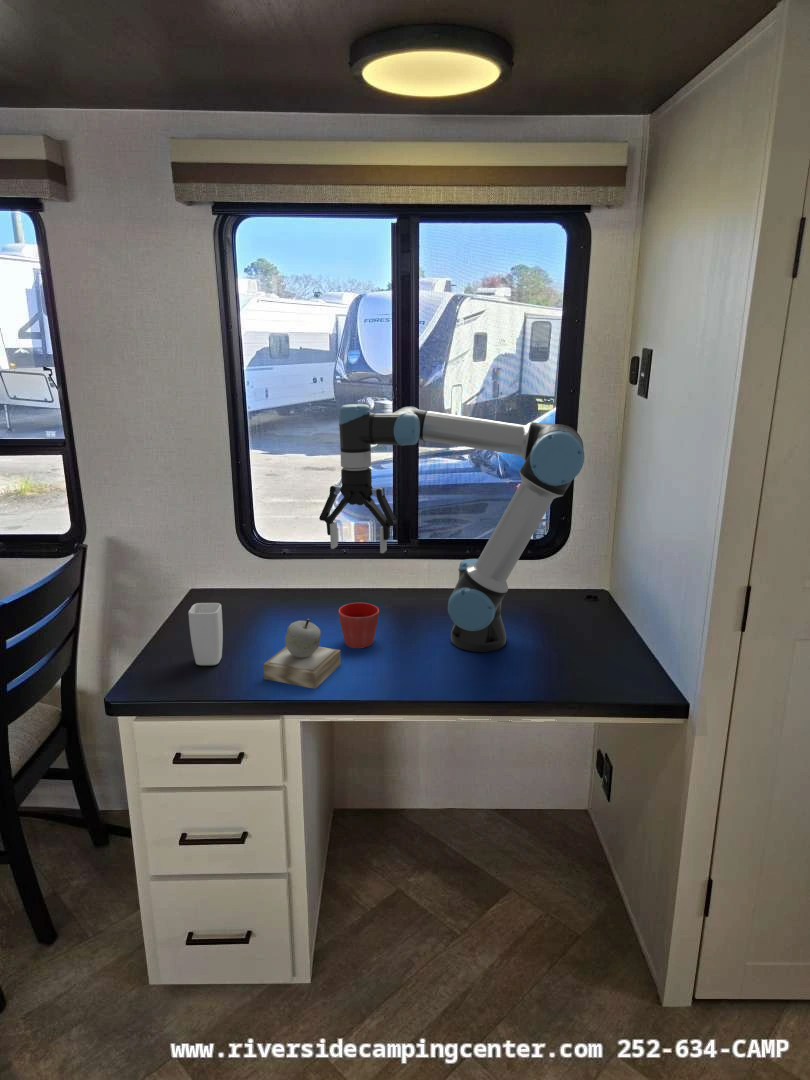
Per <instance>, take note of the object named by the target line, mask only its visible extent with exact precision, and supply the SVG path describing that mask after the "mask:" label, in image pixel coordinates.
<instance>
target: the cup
mask: <svg viewBox="0 0 810 1080" xmlns="http://www.w3.org/2000/svg"><path fill="white" fill-rule="evenodd" d="M187 614H188V625H189V633H190V641H191V646H192V647H191V648H192V653H193V657H194V661H195V664H196V665H197V666H200V667H210V666H211V667H214V666H216V665H218V664H219V663H220V661H221V659H222V657H223V642H224V640H223V639H224V638H223V637H224V636H223V635H224V634H223V633H224V631H223V628H224V627H223V611H222V604H221V603H219V602H196V603H194V604H193V605H191V607H190V609H189V610H188V613H187Z"/></svg>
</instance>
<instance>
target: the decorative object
mask: <svg viewBox="0 0 810 1080" xmlns="http://www.w3.org/2000/svg"><path fill="white" fill-rule="evenodd" d="M321 634H322V631H321V629H320V628H319V627H318V626H317V625H316V624H315V623H313V622H311V621H310V619H309V618H307V619H306V620H297V621H296V620H295V621H294V622H291V623H290V624H289V626H287V630H286V634H285V638H284V643H285V647H286V646H287V649H288V651H289V652H290V653H291V654H292V655H294V656H296V657H300V658H304V657H308V656H310V655H312V654H313V653H314V652H315V651H316V650H317V648H318V646H319V645H320V641H321Z"/></svg>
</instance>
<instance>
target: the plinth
mask: <svg viewBox="0 0 810 1080" xmlns="http://www.w3.org/2000/svg"><path fill="white" fill-rule="evenodd" d="M341 661H342V660H341V649H336V648H330V647H323V646H319V645H318V648H317V650H316V651H315V652H314V653H313V654H312V655H310V656H308V657H304V658H300V657H296V656H294V655H292V654H291V653H290V652H289V651H288V649H287V646H286V645H285V646H284V647H283V648H282V649H281V650H280V651H278V652H277V653H275V654H274V655H273V656H272V657H270V658H269V659H268V660H267V661H265V662H264V663H263V678H264V679H263V680H268V681H272V682H279V683H284V684H288V685H294V686H299V687H304V688H309V689H314V690H315V689H317V688H318V687H319V686H320V685H321V684H322V683H323V682H324V681H325V680H326V679H327V678H329V677H330V675H332V674H333V672H334V671H335V670H337V669H338V668H339V667H340V666H341V665H342V663H341Z"/></svg>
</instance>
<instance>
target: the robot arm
mask: <svg viewBox="0 0 810 1080" xmlns="http://www.w3.org/2000/svg"><path fill="white" fill-rule="evenodd" d="M338 426H339V442H340V444H339V445H340V450H339V451H340V467H341V470H340V472H341V473H340V475H341V476H340V478H341V480H340V481H341V486H339V485H338V484H337V483H335V484H333V485H331V486H330V487H329V495H328V496H327V500H326V501H325V503H324V506H323V509H322V510H321V512H320V516H319V521H321V522H325V523H326V533H327V536H330V549H332V550H334V549H336V548H337V547H339V543H338V521H335V520H336V518H337V517H338V515H340V514H341V512H342V511H343V510H344V509H345V507H346V506H347V505H348V504H349V505H350V506H351V505H352V506H353V505H356V506H357V505H358V506H363V505H364V506H365V508H367V509H368V510H369V511H370V512H371V514H372V515H373V516H374V518H375V519H376V521H378V523H379V524H380V525H381V527H379V548H380V549H379V553H380V554H385V552H387V549H388V548H387V546H388V545H387V542H388V540H390V537H391V527H394V526H395V525H396V524H397V522H398V520H397V518H396V516H395V514H394V512H393V510H392V507H391V505H390V503H389V502H388V499H387V497H386V495H385V494H386V493H385V489H384V487H383V486H381V487H377V488H373V486H372V481H373V480H372V478H373V477H372V469H371V466H372V453H371V452H372V450H371V449H372V446H371V445H386V446H387V445H388V446H402V447H404V446H414V445H416V444H417V443H418V442H419V441H428V442H434V443H439V444H446V445H447V444H448V445H452V446H460V447H465V448H472V449H476V450H477V449H479V450H484V451H489V452H496V453H502V454H503V453H504V454H509V455H516V456H520V457H521V458H522V459H523V461H524V463H523V465H522V467H521V469H520V471H519V475H520V479H521V481H520V484H519V485H518V487H517V489H516V490H515V493H514V495H513V496H512V498H511V500H510V501H509V503H508V505H507V507H506V508H505V510H504V511H503V515H502V516H501V518H500V519H499V521H498V523H497V524H496V526H495V529H494V530H493V532H492V534H491V535H490V537H489V539H488V541H487V542H486V545H485V546H484V548H483V550H482V552H481V553H480V556H479V557H478V558H468V559H467V558H466V559H463V560H461V562H460V563H459V567H458V580H457V583H456V585H455V587H454V589H453V591H452V593H451V594H450V596H449V597H448V600H447V601H448V602H447V612H448V616H449V618H450V619H451V621H452V622H453V625H452V629H451V631H450V641H451V644H453V645H454V647H457V648H458V649H461V650H465V651H468V652H476V653H487V652H488V653H489V652H494V651H497V650H500V649H502V648H503V647H504V646H505V645H506V643H507V633H506V629H505V625H504V621H503V619H502V616H501V615H502V614H501V613H502V601H503V599H504V598H505V596H506V594H507V592H508V590H509V586H508V581H507V580H508V579H509V576H510V575H511V573H512V572H513V570H514V569H515V566H516V564H517V563H518V562H519V559H520V557H521V556H522V554H523V552H524V550H525V549H526V547H527V545H528V544H529V542H530V540H531V539H532V537H533V536H534V533H535V532H536V530H537V529H538V526H539V525H540V523H541V521H542V519H543V518H544V517H545V515H546V514H547V511H548V509H550V506H551V504H552V502H553V501H554V499H557V498H560V497H564V495H565V493H566V491H567V490H568V488H569V487H570V485H571V483H572V481H573V480H575V479H576V477H577V476H579V474H580V473H581V470H582V469H583V466H584V464H585V463H584V462H585V452H584V441H583V439H582V437H581V435H580V434H579V433H578V432H577V430H575V429H574V428H573V427H571V426H569V425H565V424H557V423H555V424H553V423H542V422H533V421H530V422H528V423H527V424H524V425H523V424H519V423H510V422H506V421H504V422H503V421H497V420H491V419H486V418H485V419H484V418H480V417H479V418H478V417H472V416H471V417H470V416H466V415H465V416H464V415H458V414H450V413H443V412H437V411H431V410H424V409H418V408H417V407H415V406H404V407H401V408H399V409H398V410H396V411H393V412H391V413H376V412H375V413H374V412H371V408H370V406H369V405H368V404H365V403H364V404H362V403H353V404H352V403H351V404H343V405H341V406H340V409H339V423H338ZM340 493H341V495H342V496H343V498H342V499H341V501H340V502H339V503H338V504H337V506H336V507H335V508H334V510H333V511H332V508H333V505H334V503H335V501H336V499H337V496H338V495H339V494H340ZM373 495H374V497H375V498H377V502H378V504H379V506H380V508H381V509H380V508H379V507H378V505H377V504H376V502H375V500H374V499H373V498H372V496H373ZM330 512H331V514H330Z"/></svg>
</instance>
